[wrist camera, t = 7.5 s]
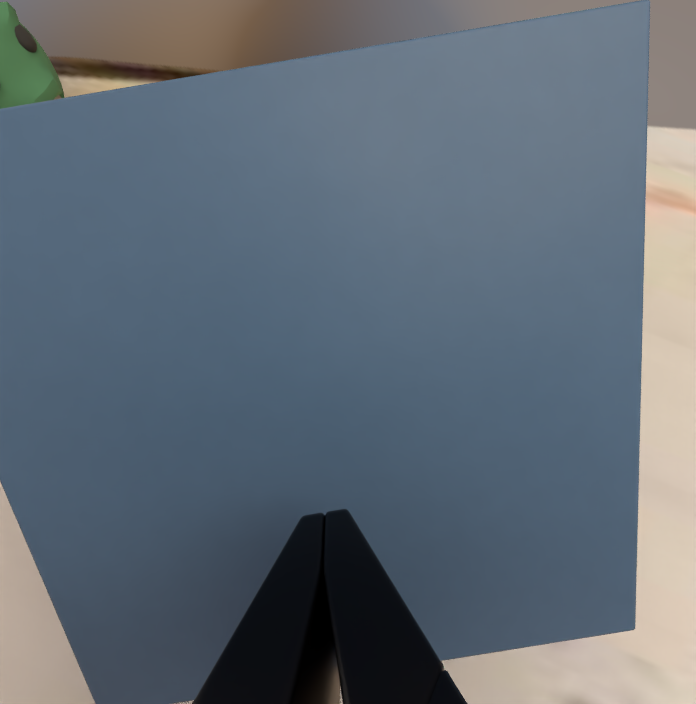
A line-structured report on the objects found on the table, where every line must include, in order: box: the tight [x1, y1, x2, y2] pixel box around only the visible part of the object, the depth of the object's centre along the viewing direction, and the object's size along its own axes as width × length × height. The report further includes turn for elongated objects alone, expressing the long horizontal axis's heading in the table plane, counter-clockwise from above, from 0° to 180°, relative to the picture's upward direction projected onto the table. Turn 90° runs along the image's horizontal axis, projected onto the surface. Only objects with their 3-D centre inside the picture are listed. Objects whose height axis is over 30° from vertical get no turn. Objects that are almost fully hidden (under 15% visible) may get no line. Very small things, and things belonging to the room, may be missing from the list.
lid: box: [0, 0, 650, 704], centre depth 9 cm, size 14×14×1 cm
